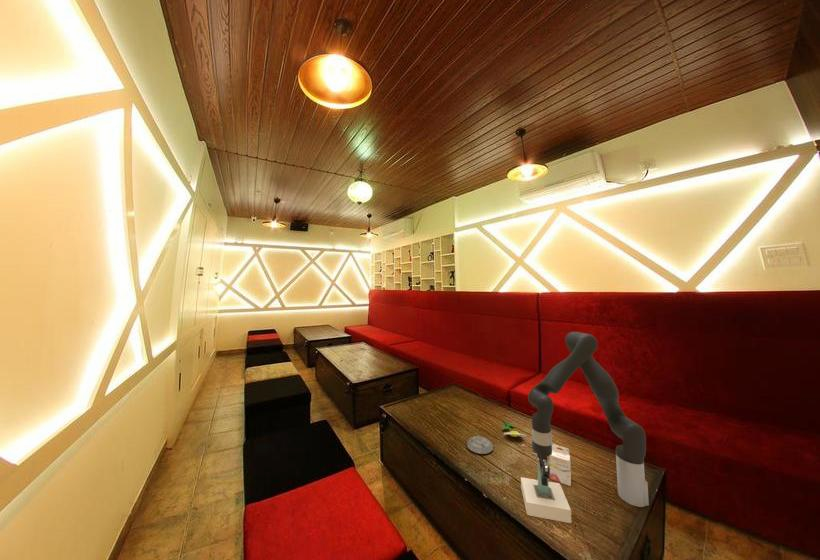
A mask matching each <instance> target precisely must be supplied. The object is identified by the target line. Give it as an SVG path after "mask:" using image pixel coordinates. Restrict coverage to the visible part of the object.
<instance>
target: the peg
mask: <svg viewBox="0 0 820 560" xmlns="http://www.w3.org/2000/svg"><path fill="white" fill-rule="evenodd" d="M536 464H537V470H536V471H537V480H538V491H539V492H540V493H541V494H543V495H548V494H549V484H548V486H543V485H542V483H541V470H540V468H539V461H538V460H537V459H536ZM541 467H542V466H541Z"/></svg>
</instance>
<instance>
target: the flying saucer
mask: <svg viewBox="0 0 820 560" xmlns="http://www.w3.org/2000/svg"><path fill="white" fill-rule="evenodd" d="M466 447H467V448H468V449H469V450H470V451H471V452H473V453H475V454H479V455H486V454H489V453H491V452H492V451H493V450H494V445H493V443H492V441H491V440H489V439H488V438H486V437H483V436H479V435H475V436H472V437H470V438H469V439H467V441H466Z"/></svg>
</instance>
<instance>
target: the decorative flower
mask: <svg viewBox="0 0 820 560" xmlns="http://www.w3.org/2000/svg"><path fill="white" fill-rule="evenodd" d="M501 420H502V421H503V423H504V424H505V425H504V426H502V427H501V428H502V429H504V430H507V429H509V430H510V431H508V432H503V435H505V436H506V435H509V436H511V437H514V438H517V437H521V438H523V437H527V434H523V433H519V432H518V431H517V430H512V428H511V427H515V424H512V423H507V421H506V420H505V419H504V418H501Z"/></svg>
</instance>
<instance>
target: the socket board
mask: <svg viewBox="0 0 820 560" xmlns="http://www.w3.org/2000/svg"><path fill="white" fill-rule="evenodd" d="M548 484H549V494H548V495H543V494H541V493H540V492H539V491H538V479H533V478H527V477H522V476H521V477H520V489H521V494H522V498H523V504H524V508H525V513H526V515H527V516H531V517H536V518H540V519H547V520H551V521H557V522H560V523H561V522H563V523H568V524H572V510H571V509H572V508H571V507H570V504H569V502H568V500H567V498H566V494H565V492H564V491H563V487H562V486H561V484H560V482H555V481H548Z"/></svg>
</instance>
